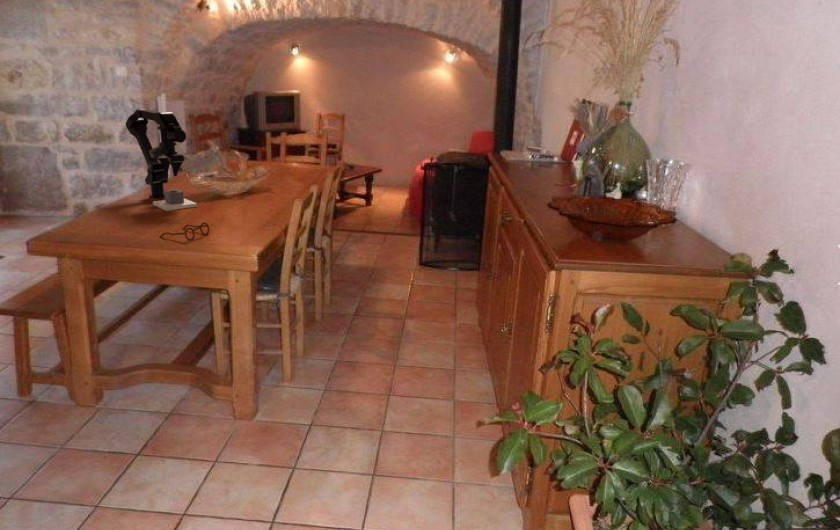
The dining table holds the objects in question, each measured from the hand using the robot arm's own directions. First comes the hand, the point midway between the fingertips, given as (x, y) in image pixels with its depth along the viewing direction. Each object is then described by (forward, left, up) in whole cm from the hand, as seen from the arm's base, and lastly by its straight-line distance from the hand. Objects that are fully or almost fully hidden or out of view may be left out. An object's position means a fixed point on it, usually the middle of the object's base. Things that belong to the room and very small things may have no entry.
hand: (170, 174), depth 291 cm
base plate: (+11, -4, -12) cm, 17 cm away
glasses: (+59, -22, -13) cm, 64 cm away
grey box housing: (+11, -4, -10) cm, 16 cm away
